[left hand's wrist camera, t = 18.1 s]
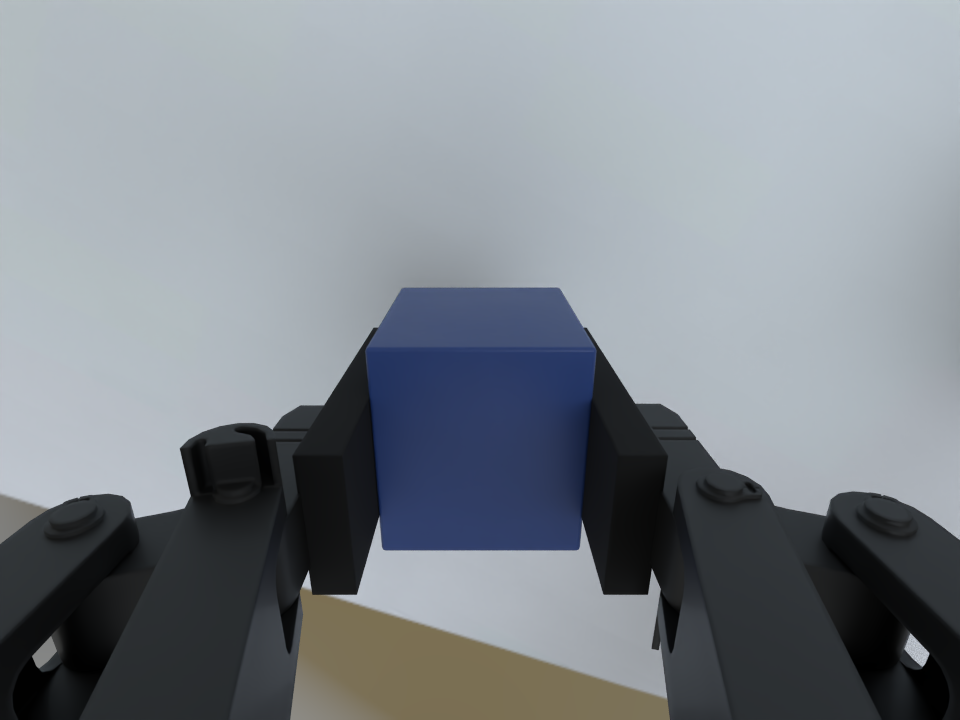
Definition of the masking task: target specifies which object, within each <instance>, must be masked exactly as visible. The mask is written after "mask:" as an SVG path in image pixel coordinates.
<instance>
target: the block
mask: <svg viewBox="0 0 960 720" xmlns="http://www.w3.org/2000/svg"><path fill="white" fill-rule="evenodd" d="M365 352H366V364H367V376H368V388H369V399H370V411H371V423H372V434H373V446H374V458H375V470H376V481H377V493H378V505H379V517H380V528H381V540H382V548H383V550H579V547H580V539H581V528H582V508H583V496H584V485H585V473H586V461H587V449H588V438H589V426H590V414H591V402H592V397H593V386H594V374H595V363H596V348H595V346H594V345H593V343H592V341H591V340H590V338H589V336H588V335H587V333H586V331H585V330H584V328H583V326H582V325H581V323H580V321H579V320H578V318H577V316H576V315H575V313H574V311H573V310H572V308H571V306H570V305H569V303H568V301H567V300H566V298H565V296H564V295H563V293H562V291H561V290H560V289H559V288H402V289H401V291H400V293H399V294H398V296H397V298H396V299H395V301H394V303H393V304H392V306H391V308H390V309H389V311H388V313H387V314H386V316H385V318H384V319H383V321H382V323H381V324H380V326H379V328H378V329H377V331H376V333H375V334H374V336H373V338H372V339H371V341H370V343H369V344H368V346H367V348H366V351H365Z"/></svg>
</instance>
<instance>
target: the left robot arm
mask: <svg viewBox="0 0 960 720" xmlns="http://www.w3.org/2000/svg"><path fill="white" fill-rule="evenodd" d="M377 329H378V328H373V330H372V331H371V333H370V334H369V336H368V338H367V339H366V341H365V342H364V344H363V345H362V347H361V349H360V350H359V352H358V353H357V355H356V356H355V358H354V360H353V361H352V363H351V364H350V366H349V367H348V369H347V371H346V372H345V374H344V375H343V377H342V378H341V380H340V381H339V383H338V385H337V386H336V388H335V389H334V391H333V392H332V394H331V396H330V397H329V399H328V400H327V402H326V403H325V405H324V406H299V407H297V408H296V409H294V410H292V411H291V412H289V413H287V414H286V415H284V416H283V417H282V418H281V419H280V420H279V422H278V423H277V424H276V426H275V427H274V428H273V430H272V429H270V428H269V427H268V426H265V425H260V424H256V423H237V424H231V425H225V426H220V427H216V428H213V429H210V430H207V431H204V432H202V433H200V434H198V435H196V436H195V437H193V438H191V439H189V440H188V441H187V442H186V443H185V444H184V445H183V446H182V447H181V448H180V451H181V456H182V460H183V464H184V469H185V473H186V477H187V481H188V486H189V490H190V494H191V497H190V499H189V501H188V503H187V505H186V507H185V508H184V509H180V510H176V511H172V512H167V513H161V514H156V515H151V516H146V517H140V518H135V517H134V514H133V510H132V506H131V503H130V501H128V500H127V499H126V498H124V497H123V496H119V495H113V494H101V495H88V496H83V497H80V498H79V499H78V498H75V499H71V500H68V501H66V502H64V503H63V504H61V505H58V506H56V507H54V508H51V509H49V510H47V511H45V512H44V513H42V514H41V515H39V516H37V517H36V518H34V519H33V520H31V521H30V522H28V523H27V524H26V525H24V526H23V527H22V528H21V529H19V530H18V531H17V532H15V533H14V534H13V535H11V536H10V537H9V538H8V539H6V540H5V541H4V542H2V543H1V544H0V720H290V716H291V707H292V699H293V691H294V683H295V675H296V667H297V659H298V650H299V642H300V634H301V626H302V618H303V611H302V604H301V598H300V589H301V587H302V585H303V582H304V580H305V577H306V575H307V573H308V570H309V574H310V581H311V588H312V594H313V595H357V592H358V589H359V585H360V582H361V578H362V575H363V571H364V568H365V564H366V561H367V557H368V553H369V550H370V546H371V543H372V539H373V536H374V532H375V529H376V525H377V522H378V518H379V505H378V493H377V481H376V470H375V458H374V446H373V434H372V423H371V411H370V399H369V388H368V376H367V364H366V352H365V351H366V348H367V346H368V344H369V343H370V341H371V339H372V338H373V336H374V334H375V333H376V331H377ZM584 330H585V331H586V333H587V335H588V336H589V338H590V340H591V341H592V343H593V345H594V346H595V348H596V363H595V374H594V386H593V397H592V402H591V414H590V426H589V438H588V449H587V461H586V473H585V485H584V496H583V508H582V520H583V524H584V527H585V531H586V535H587V538H588V542H589V545H590V549H591V552H592V556H593V559H594V563H595V566H596V570H597V573H598V577H599V580H600V584H601V587H602V591H603V594H604V595H648V591H649V584H650V577H651V570H652V569H653V571H654V574H655V576H656V579H657V581H658V583H659V586H660V588H661V592H660V598H659V604H658V611H657V617H656V623H655V630H654V636H653V643H652V649H655V650H659V646H660V641H661V649H662V658H663V666H664V674H665V682H666V690H667V698H668V706H669V714H670V720H960V540H959V539H957V538H956V537H955V536H953V535H952V534H951V533H950V532H948V531H947V530H946V529H944V528H943V527H942V526H940V525H939V524H938V523H937V522H935V521H934V520H933V519H931V518H930V517H928V516H926V515H925V514H923V513H922V512H920V511H918V510H917V509H915V508H914V507H911V506H909V505H906V504H904V503H902V502H899V501H898V500H896V499H894V498H891V497H888V496H885V495H884V496H881V494H876V493H864V492H846V493H840V494H838V495H836V496H835V497H834V498H832V499H831V501H830V505H829V508H828V512H827V515H826V516H822V515H817V514H811V513H806V512H801V511H796V510H790V509H786V508H782V507H777V506H774V504H773V502H772V500H771V498H770V496H769V495H768V494H767V492H766V491H765V490H764V489H763V488H762V486H761V485H759V484H758V483H756V482H754V481H753V480H751V479H750V478H748V477H746V476H744V475H741V474H738V473H736V472H733V471H730V470H725V469H720V468H719V466H718V465H717V464H716V463H715V461H714V460H713V459H712V457H711V456H710V455H709V454H708V452H707V451H706V450H705V449H704V447H703V446H702V445H701V443H700V442H699V441H698V440H696V437H695V436H694V434H693V433H692V432H691V431H690V430H688V427H687V425H686V424H685V423H684V422H683V420H682V419H681V418H680V416H679V415H678V414H676V413H675V412H673V411H671V410H670V409H668V408H666V407H665V406H663V405H661V404H635V403H634V401H633V400H632V398H631V396H630V395H629V393H628V392H627V390H626V389H625V387H624V386H623V384H622V382H621V381H620V379H619V378H618V376H617V375H616V373H615V371H614V370H613V368H612V367H611V365H610V364H609V362H608V360H607V359H606V357H605V356H604V354H603V353H602V351H601V349H600V348H599V346H598V345H597V343H596V342H595V340H594V338H593V337H592V335H591V334H590V332H589V331H588V329H587V328H584ZM910 633H911V634H912V635H913V636H914V637H915V638H916V639H917V640H918V641H919V642H920V643H921V645H922V646H923V647H924V648H925V649H926V650H927V651H928V652H929V653H930V654H929V656H928V659H927V661H926V664H925V665H924V666H923V667H922V666H920V665H919V664H918V663H917V662H916V661H914V660H913V659H912V658H911V656H910V655H909V654H908V653H907V652H906V651H905V650H904V648H905V645H906V643H907V640H908V638H909V635H910ZM50 636H52V639H53V642H54V644H55V647H56V649H57V652H56V653H55V654H54V656H53V657H52V658H51V659H50V660H49V661H48V662H47V663H46V664H44V665H43V666H42V667H41V668H37V666H36V665H35V662H34V660H33V658H32V655H33V654H34V653H35V652H36V651H37V650H38V649H39V648H40V647H41V646H42V645H43V644H44V643H45V642H46V641H47V639H48V638H49V637H50Z"/></svg>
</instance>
